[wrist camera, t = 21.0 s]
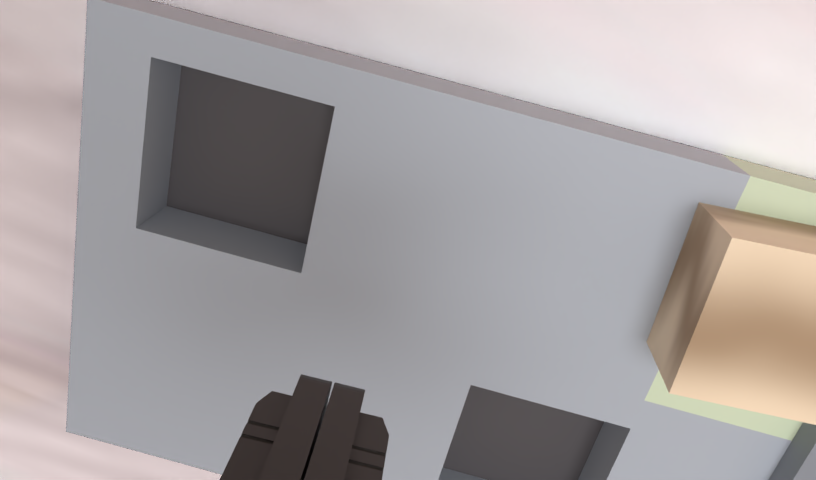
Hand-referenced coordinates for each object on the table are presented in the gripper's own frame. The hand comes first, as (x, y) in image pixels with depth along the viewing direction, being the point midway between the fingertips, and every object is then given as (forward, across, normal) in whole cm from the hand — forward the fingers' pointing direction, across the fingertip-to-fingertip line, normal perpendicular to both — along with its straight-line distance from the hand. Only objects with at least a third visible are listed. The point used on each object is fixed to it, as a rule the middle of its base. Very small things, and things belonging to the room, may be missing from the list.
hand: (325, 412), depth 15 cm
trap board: (+14, -4, +5) cm, 16 cm away
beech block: (+11, -14, -1) cm, 18 cm away
